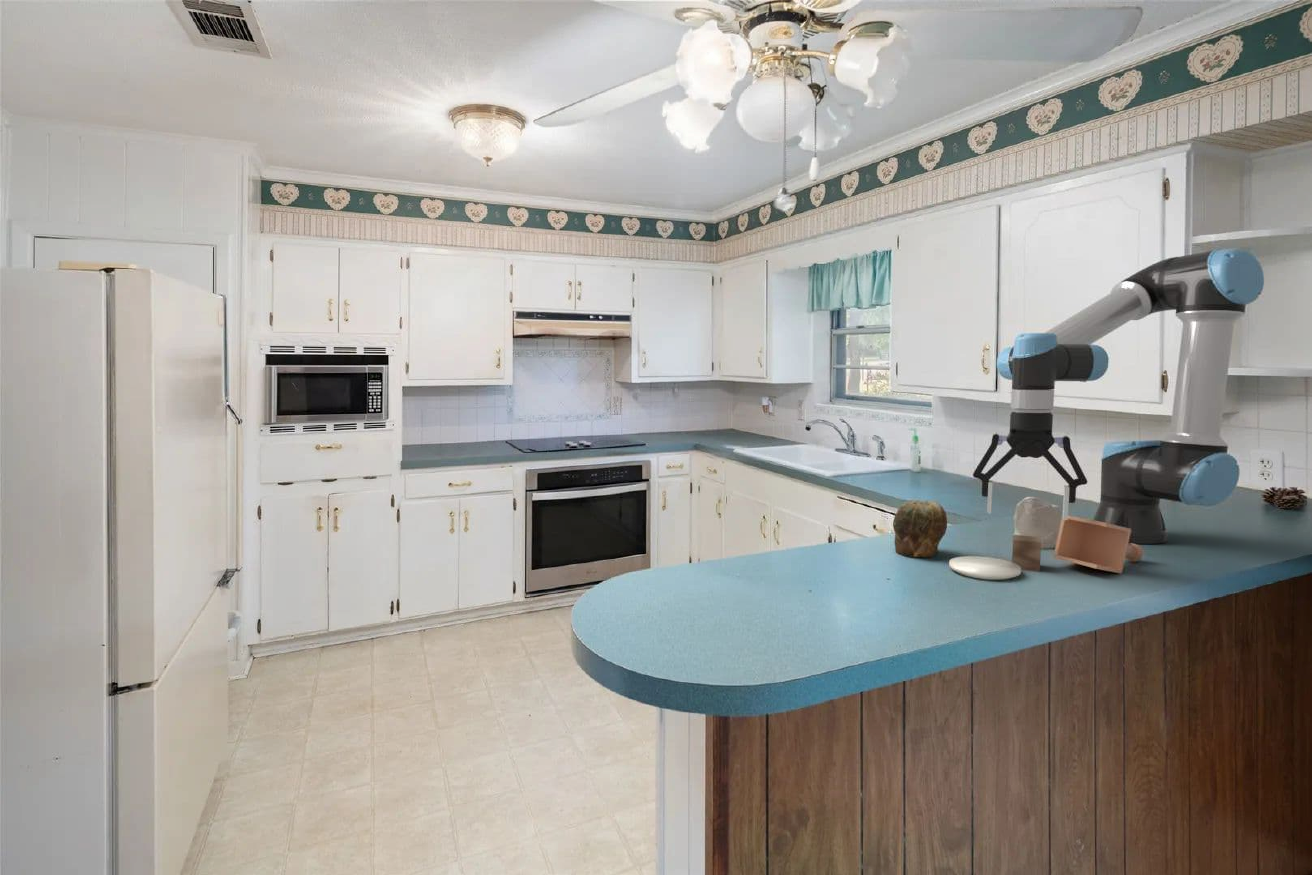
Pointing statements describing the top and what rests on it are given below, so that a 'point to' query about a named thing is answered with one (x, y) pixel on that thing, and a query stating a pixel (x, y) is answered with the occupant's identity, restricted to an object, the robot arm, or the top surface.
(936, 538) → the brown rounded lump
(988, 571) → the dish
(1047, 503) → the stone
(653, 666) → the top surface
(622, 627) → the top surface
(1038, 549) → the block
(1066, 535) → the cover
